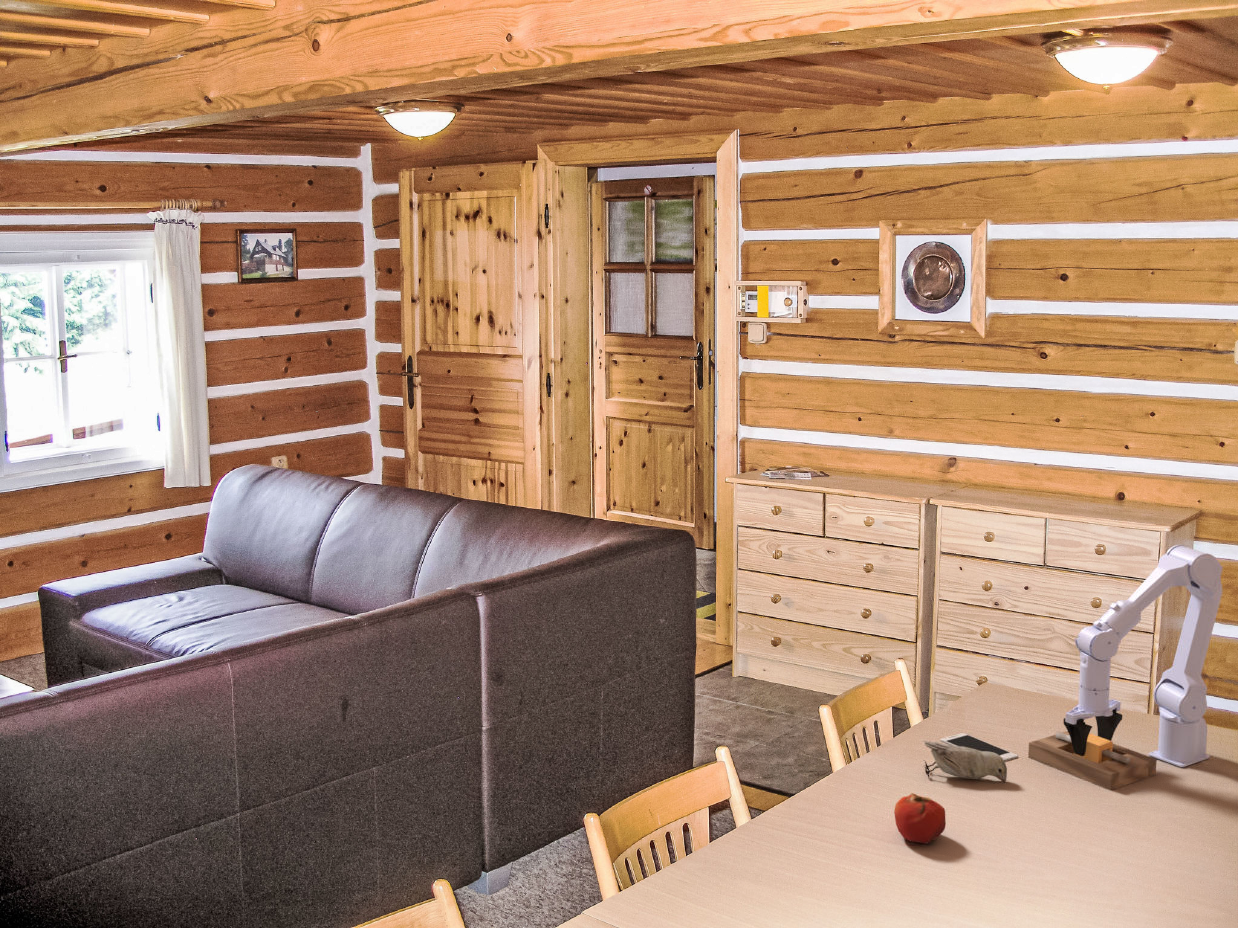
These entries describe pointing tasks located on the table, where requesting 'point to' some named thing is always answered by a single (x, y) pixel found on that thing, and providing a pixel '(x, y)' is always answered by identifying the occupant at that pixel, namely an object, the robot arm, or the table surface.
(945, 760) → the decorative bird
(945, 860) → the table surface
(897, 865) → the table surface
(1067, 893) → the table surface
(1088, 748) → the orange notched block
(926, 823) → the tomato
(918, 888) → the table surface
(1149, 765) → the wooden slotted rail base
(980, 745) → the smartphone
